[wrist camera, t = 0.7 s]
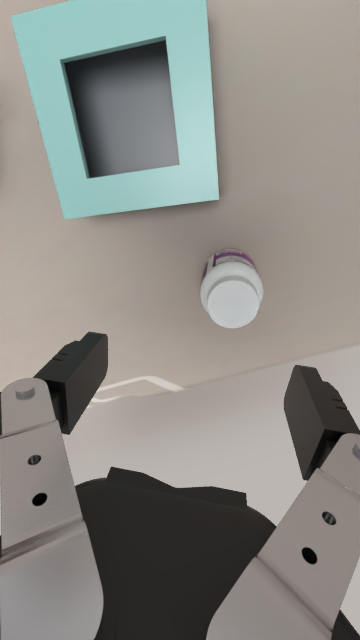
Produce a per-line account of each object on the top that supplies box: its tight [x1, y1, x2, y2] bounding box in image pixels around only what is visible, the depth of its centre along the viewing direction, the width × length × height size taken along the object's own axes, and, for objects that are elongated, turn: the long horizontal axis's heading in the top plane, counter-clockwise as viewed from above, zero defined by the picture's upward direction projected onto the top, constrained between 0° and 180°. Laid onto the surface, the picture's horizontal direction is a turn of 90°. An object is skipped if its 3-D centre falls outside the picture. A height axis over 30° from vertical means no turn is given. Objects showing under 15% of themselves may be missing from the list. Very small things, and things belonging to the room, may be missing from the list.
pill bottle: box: [200, 249, 263, 328], centre depth 27 cm, size 5×5×10 cm
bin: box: [10, 0, 219, 219], centre depth 24 cm, size 13×13×6 cm
